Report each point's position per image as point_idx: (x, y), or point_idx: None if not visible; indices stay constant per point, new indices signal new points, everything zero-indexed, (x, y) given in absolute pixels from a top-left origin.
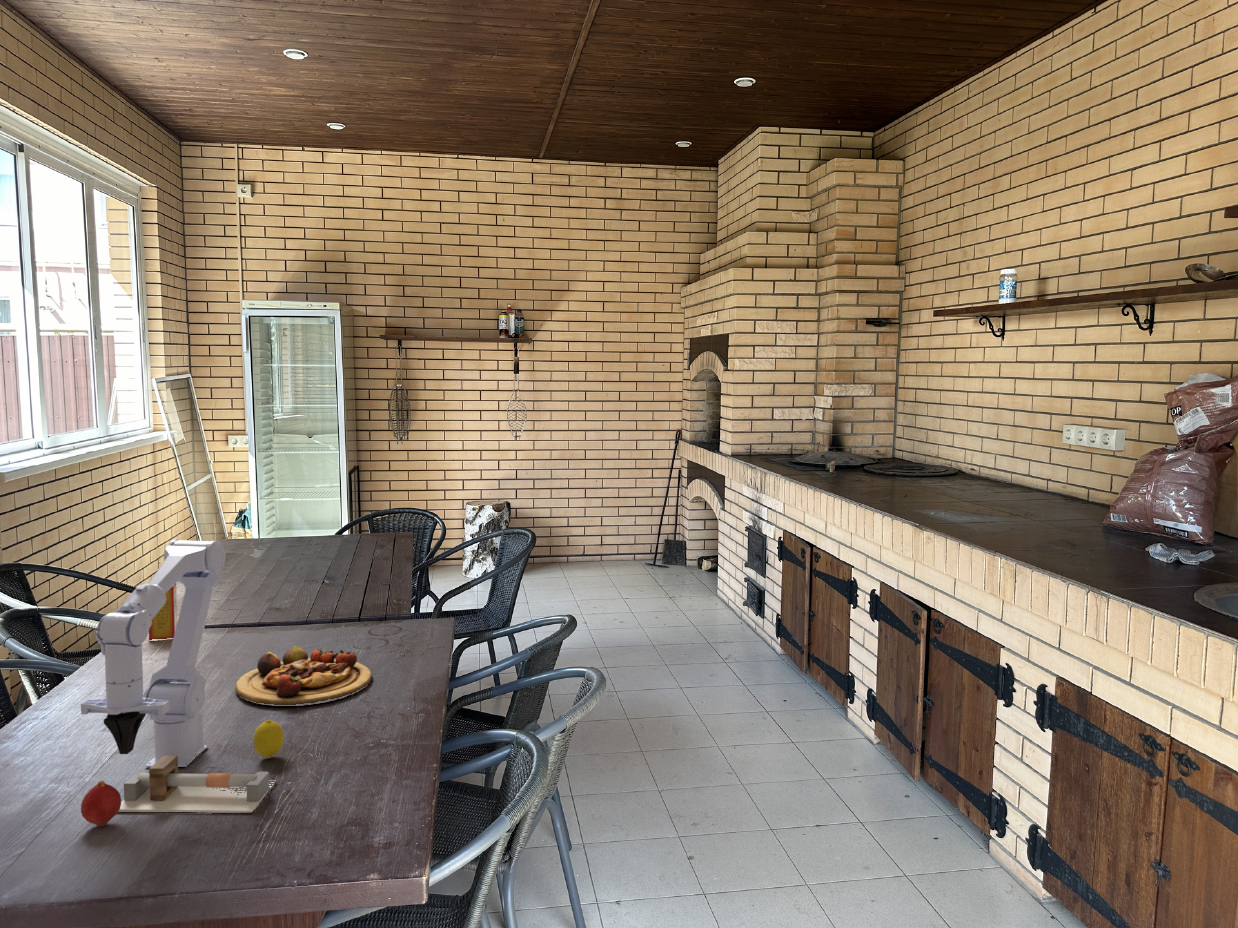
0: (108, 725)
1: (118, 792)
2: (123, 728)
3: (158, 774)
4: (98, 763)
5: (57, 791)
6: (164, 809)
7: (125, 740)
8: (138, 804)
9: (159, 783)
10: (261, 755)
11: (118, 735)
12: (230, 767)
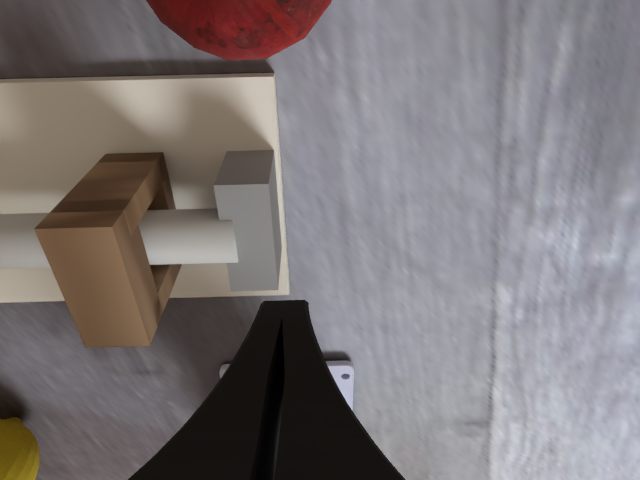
0: (360, 465)
1: (157, 13)
2: (224, 444)
3: (74, 209)
4: (511, 373)
5: (576, 218)
6: (47, 84)
7: (246, 361)
8: (192, 121)
9: (92, 186)
10: (9, 420)
11: (290, 389)
12: (87, 373)
